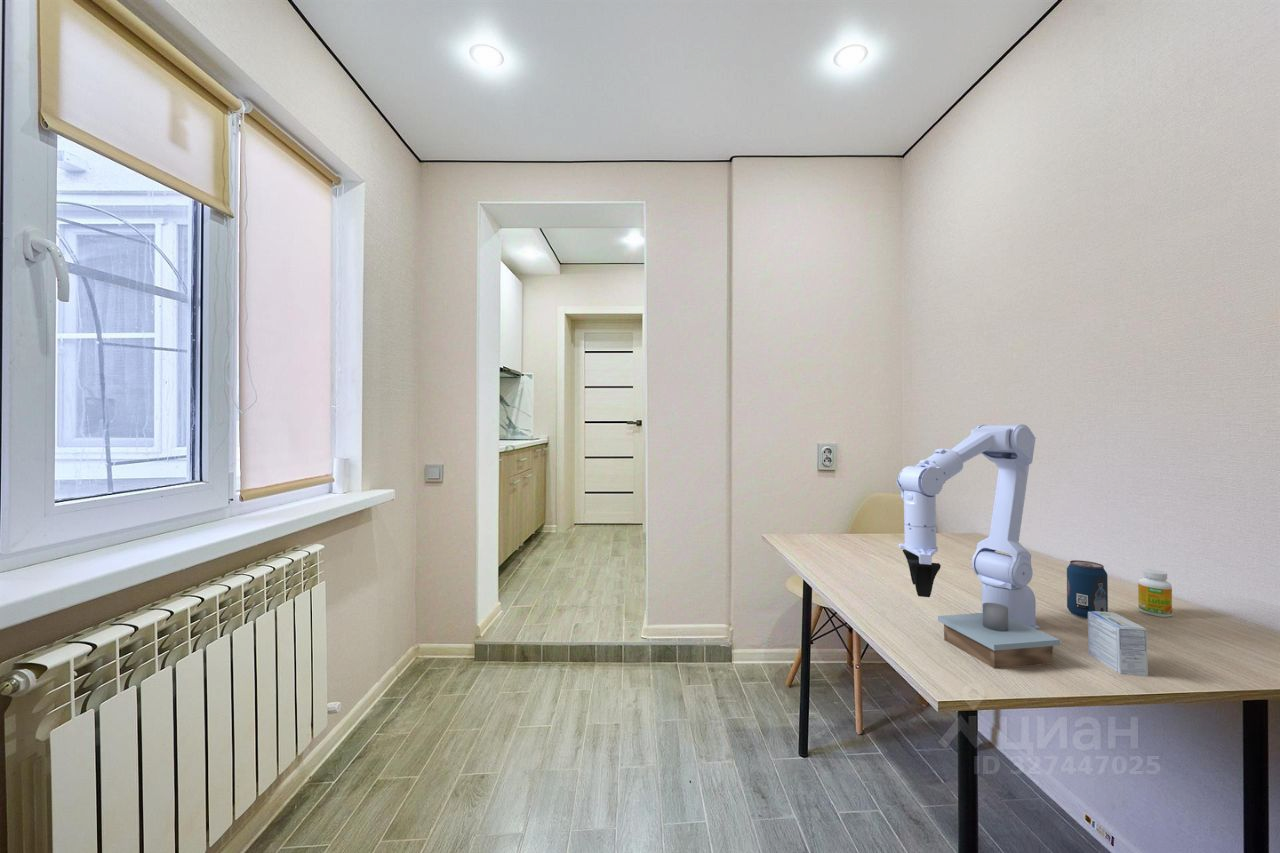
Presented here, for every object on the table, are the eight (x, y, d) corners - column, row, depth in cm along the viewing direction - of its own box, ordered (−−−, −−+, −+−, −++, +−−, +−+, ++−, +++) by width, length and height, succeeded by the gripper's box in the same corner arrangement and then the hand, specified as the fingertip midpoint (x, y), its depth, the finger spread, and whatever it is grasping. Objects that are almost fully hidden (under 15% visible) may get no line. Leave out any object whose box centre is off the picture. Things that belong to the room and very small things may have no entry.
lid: (996, 620, 102) (996, 592, 102) (1060, 649, 89) (1060, 617, 89) (937, 624, 100) (937, 596, 100) (994, 655, 87) (993, 622, 87)
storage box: (996, 637, 101) (996, 618, 101) (1053, 665, 89) (1052, 643, 89) (944, 641, 100) (943, 622, 100) (994, 670, 88) (994, 648, 88)
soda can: (1072, 608, 117) (1072, 557, 117) (1112, 617, 111) (1111, 564, 111) (1062, 614, 113) (1061, 562, 113) (1102, 624, 107) (1101, 569, 107)
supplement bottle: (1146, 615, 112) (1146, 573, 112) (1133, 607, 117) (1132, 566, 117) (1178, 618, 110) (1177, 575, 110) (1163, 610, 115) (1162, 569, 115)
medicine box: (1149, 678, 84) (1148, 628, 84) (1118, 676, 85) (1118, 626, 85) (1114, 657, 92) (1114, 611, 92) (1087, 655, 93) (1086, 610, 93)
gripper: (894, 517, 109) (895, 577, 109) (901, 530, 96) (902, 599, 96) (931, 518, 106) (932, 581, 106) (943, 532, 93) (944, 604, 93)
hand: (920, 590), depth 101 cm, fingers open, 7 cm apart
